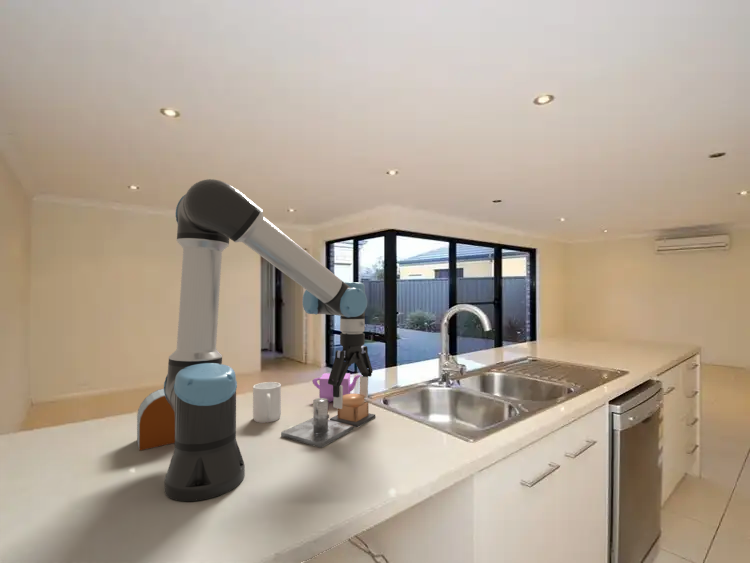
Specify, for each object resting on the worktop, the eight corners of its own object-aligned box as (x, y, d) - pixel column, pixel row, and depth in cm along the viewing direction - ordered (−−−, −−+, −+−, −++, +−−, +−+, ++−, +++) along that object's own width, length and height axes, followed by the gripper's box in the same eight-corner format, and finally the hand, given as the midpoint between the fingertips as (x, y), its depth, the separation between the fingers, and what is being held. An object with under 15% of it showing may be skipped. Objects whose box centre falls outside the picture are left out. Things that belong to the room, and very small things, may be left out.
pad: (357, 427, 107) (357, 424, 107) (329, 421, 113) (329, 418, 113) (375, 417, 116) (375, 414, 116) (349, 411, 121) (349, 409, 121)
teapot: (363, 394, 140) (363, 367, 141) (361, 406, 127) (361, 376, 127) (315, 395, 141) (315, 368, 141) (308, 406, 127) (308, 376, 127)
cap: (337, 417, 113) (337, 398, 113) (350, 411, 119) (350, 392, 119) (356, 422, 109) (356, 401, 110) (368, 415, 115) (368, 395, 115)
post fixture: (321, 447, 94) (321, 411, 94) (281, 436, 101) (281, 402, 101) (353, 429, 106) (353, 397, 106) (315, 420, 113) (315, 390, 113)
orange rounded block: (197, 427, 108) (197, 380, 109) (203, 436, 101) (203, 386, 102) (136, 439, 100) (137, 388, 100) (139, 450, 93) (139, 396, 93)
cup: (279, 412, 121) (279, 381, 121) (283, 425, 110) (283, 390, 110) (252, 415, 118) (252, 383, 118) (253, 429, 107) (253, 393, 107)
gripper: (337, 337, 102) (336, 415, 101) (383, 330, 123) (382, 394, 123) (316, 335, 106) (315, 410, 105) (364, 328, 127) (363, 391, 127)
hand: (351, 402), depth 114 cm, fingers open, 13 cm apart
